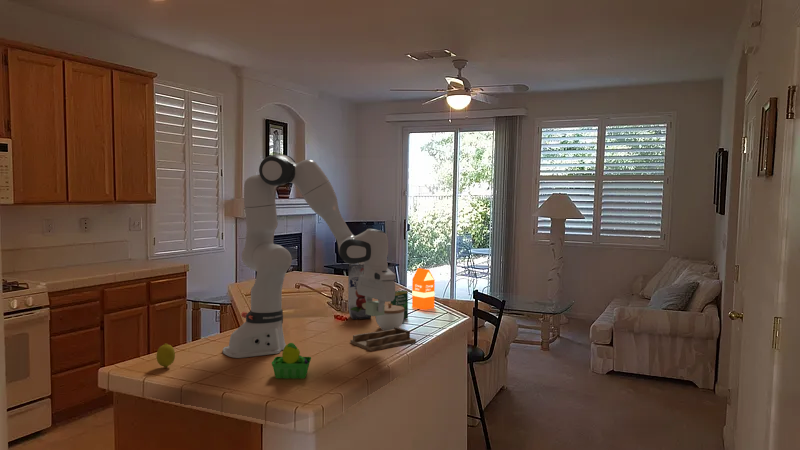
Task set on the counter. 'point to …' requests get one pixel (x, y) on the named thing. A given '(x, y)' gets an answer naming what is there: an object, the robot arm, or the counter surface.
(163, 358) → the lemon
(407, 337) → the board
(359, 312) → the juice carton
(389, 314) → the lidded bowl
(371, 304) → the block
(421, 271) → the orange juice
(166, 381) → the counter surface
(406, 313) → the coffee box
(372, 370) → the counter surface
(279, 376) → the fruit basket
